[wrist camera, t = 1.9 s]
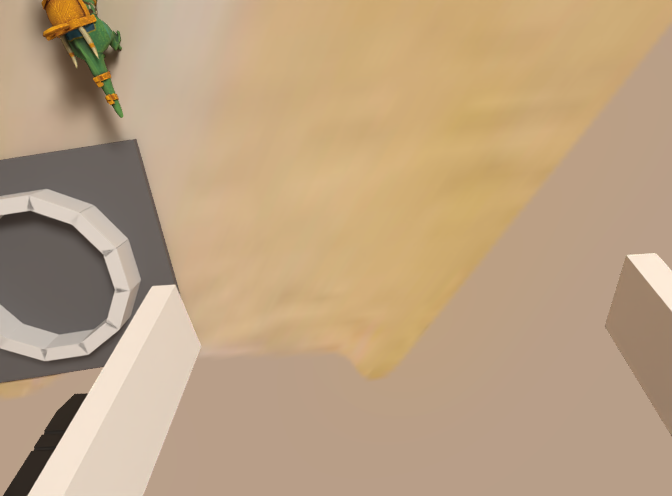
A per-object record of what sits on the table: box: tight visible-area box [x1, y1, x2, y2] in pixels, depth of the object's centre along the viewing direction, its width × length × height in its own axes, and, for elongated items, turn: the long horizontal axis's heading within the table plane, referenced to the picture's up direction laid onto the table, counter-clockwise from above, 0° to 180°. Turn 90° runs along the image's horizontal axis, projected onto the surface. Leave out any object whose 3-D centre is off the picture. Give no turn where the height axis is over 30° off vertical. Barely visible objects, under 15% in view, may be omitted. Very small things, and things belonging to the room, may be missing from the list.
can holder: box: [0, 139, 181, 383], centre depth 39 cm, size 20×20×3 cm
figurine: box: [42, 0, 123, 118], centre depth 31 cm, size 3×12×8 cm, turn 23°
